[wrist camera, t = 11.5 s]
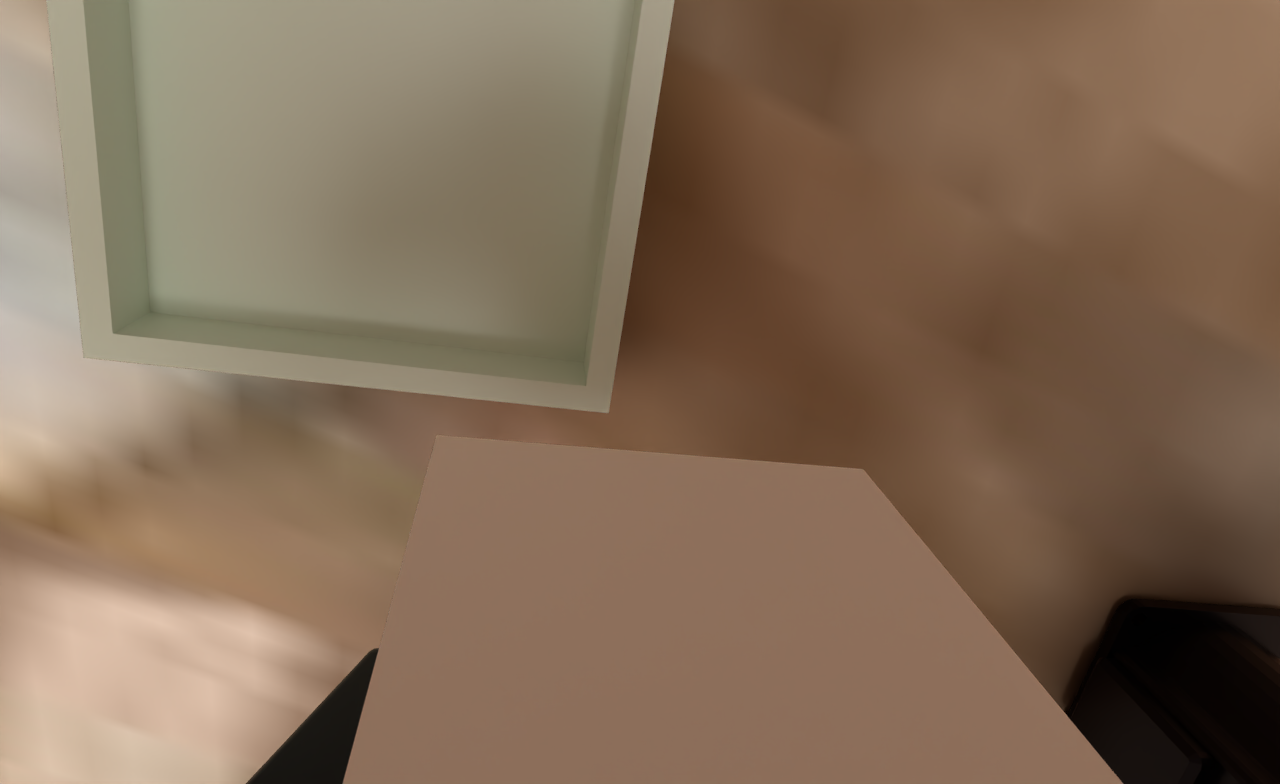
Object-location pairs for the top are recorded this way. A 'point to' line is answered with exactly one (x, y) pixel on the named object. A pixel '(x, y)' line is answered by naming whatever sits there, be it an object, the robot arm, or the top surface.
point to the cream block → (688, 634)
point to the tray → (360, 187)
